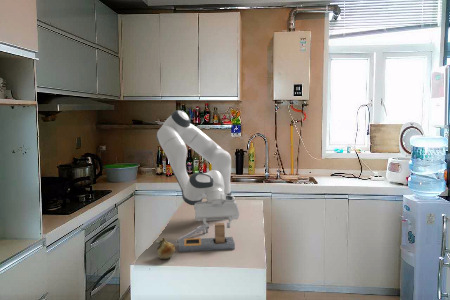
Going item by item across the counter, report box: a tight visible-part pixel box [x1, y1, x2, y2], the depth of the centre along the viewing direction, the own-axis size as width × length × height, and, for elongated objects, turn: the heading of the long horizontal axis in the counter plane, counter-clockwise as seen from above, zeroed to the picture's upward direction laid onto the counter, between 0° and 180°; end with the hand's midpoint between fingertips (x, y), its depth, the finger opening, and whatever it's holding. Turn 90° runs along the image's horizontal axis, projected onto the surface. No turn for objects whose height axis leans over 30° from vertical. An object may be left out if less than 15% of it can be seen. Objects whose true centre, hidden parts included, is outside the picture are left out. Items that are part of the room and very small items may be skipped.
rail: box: [178, 236, 236, 253], centre depth 166 cm, size 9×24×3 cm, turn 95°
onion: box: [155, 237, 176, 260], centre depth 154 cm, size 8×8×8 cm
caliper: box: [174, 222, 209, 244], centre depth 181 cm, size 20×1×6 cm, turn 137°
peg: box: [214, 222, 226, 243], centre depth 167 cm, size 4×4×10 cm
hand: (218, 227), depth 168 cm, fingers open, 8 cm apart
